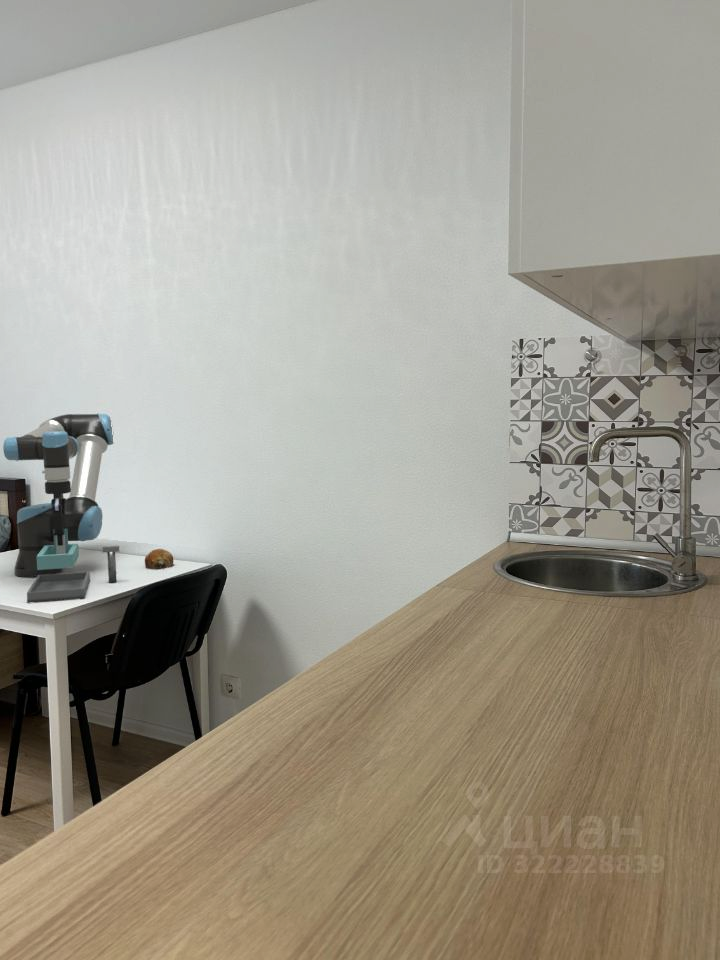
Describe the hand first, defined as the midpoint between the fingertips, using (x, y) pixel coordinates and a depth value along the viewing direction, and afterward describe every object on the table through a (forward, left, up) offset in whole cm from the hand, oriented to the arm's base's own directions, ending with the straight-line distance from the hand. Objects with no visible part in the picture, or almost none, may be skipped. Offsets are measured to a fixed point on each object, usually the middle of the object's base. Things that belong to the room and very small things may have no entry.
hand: (61, 554), depth 244 cm
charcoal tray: (+8, 0, -10) cm, 13 cm away
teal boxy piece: (+8, 0, -1) cm, 8 cm away
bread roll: (-19, +30, -10) cm, 37 cm away
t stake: (+1, +15, -10) cm, 18 cm away
